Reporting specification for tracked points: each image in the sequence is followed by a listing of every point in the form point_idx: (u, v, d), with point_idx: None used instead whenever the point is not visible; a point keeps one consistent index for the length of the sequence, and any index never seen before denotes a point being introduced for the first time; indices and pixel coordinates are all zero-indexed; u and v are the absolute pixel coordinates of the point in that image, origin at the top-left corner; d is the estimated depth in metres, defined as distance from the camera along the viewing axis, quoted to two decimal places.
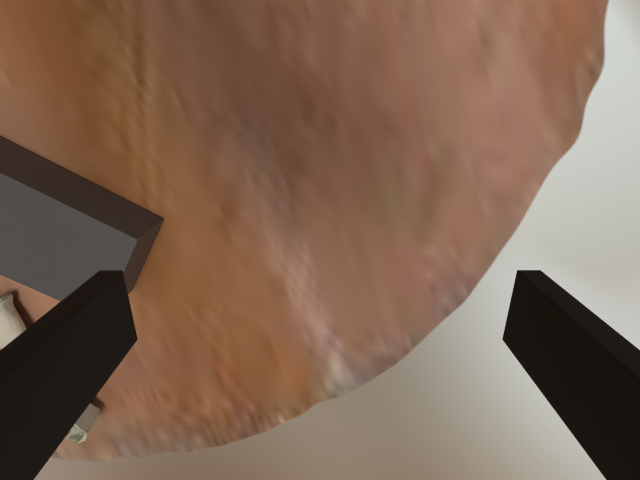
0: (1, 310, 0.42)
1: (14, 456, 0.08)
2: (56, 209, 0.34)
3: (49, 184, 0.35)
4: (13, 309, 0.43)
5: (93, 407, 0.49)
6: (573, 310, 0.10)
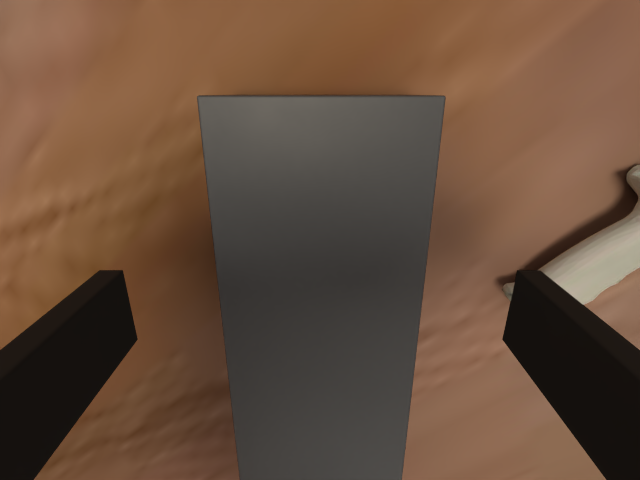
0: None
1: (14, 456, 0.08)
2: (233, 261, 0.18)
3: None
4: None
5: None
6: (573, 310, 0.10)
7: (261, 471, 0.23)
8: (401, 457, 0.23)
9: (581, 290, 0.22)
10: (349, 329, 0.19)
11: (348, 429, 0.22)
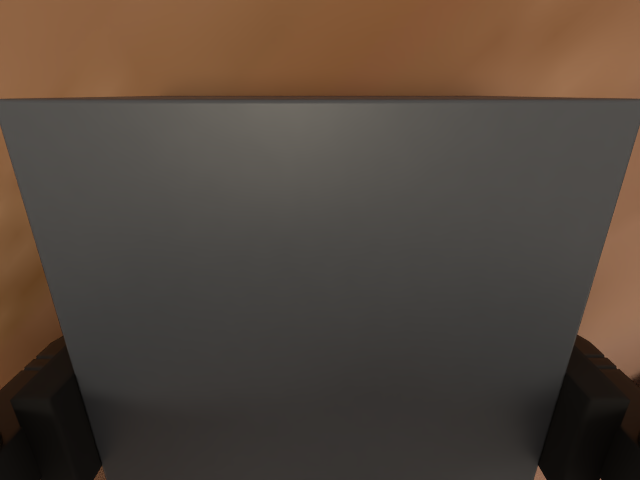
0: None
1: None
2: (134, 449, 0.08)
3: None
4: None
5: None
6: None
7: None
8: None
9: None
10: None
11: None
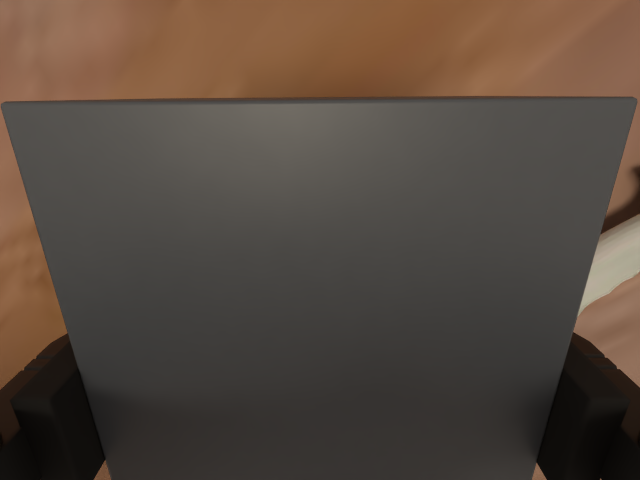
0: None
1: None
2: (137, 445, 0.09)
3: None
4: None
5: None
6: None
7: None
8: None
9: (597, 283, 0.23)
10: None
11: None
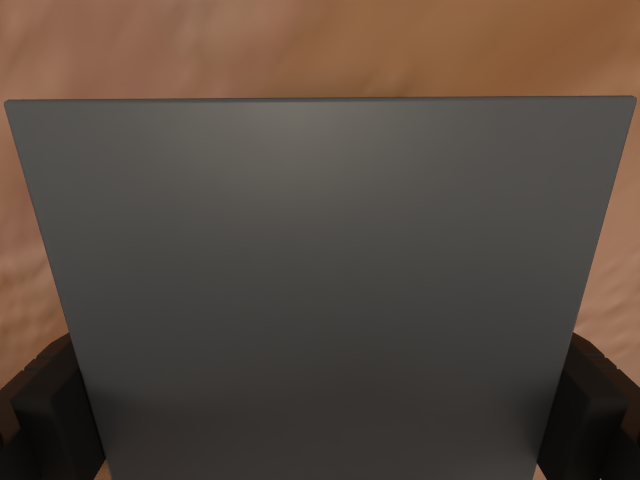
0: None
1: None
2: (138, 444, 0.09)
3: None
4: None
5: None
6: None
7: None
8: None
9: None
10: None
11: None
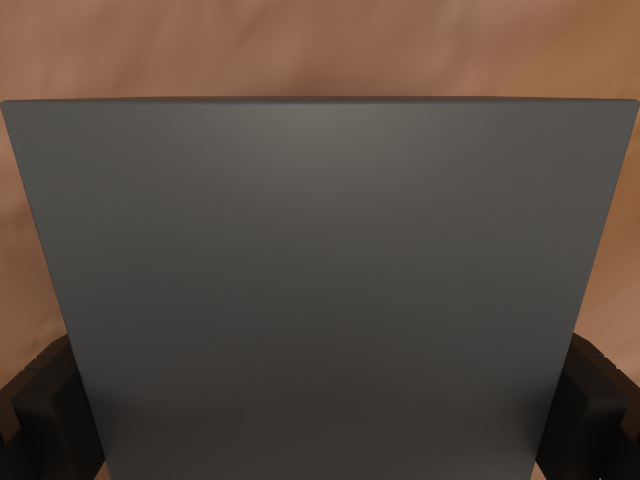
0: None
1: None
2: (137, 444, 0.09)
3: None
4: None
5: None
6: None
7: None
8: None
9: None
10: None
11: None
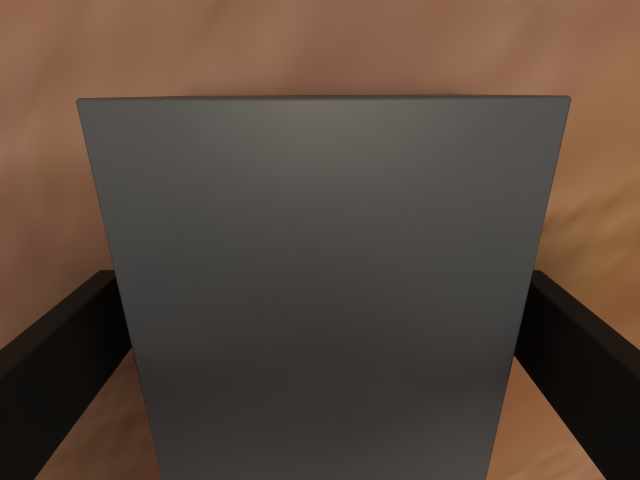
0: None
1: (14, 456, 0.08)
2: (171, 384, 0.10)
3: None
4: None
5: None
6: (573, 310, 0.10)
7: None
8: None
9: None
10: None
11: None
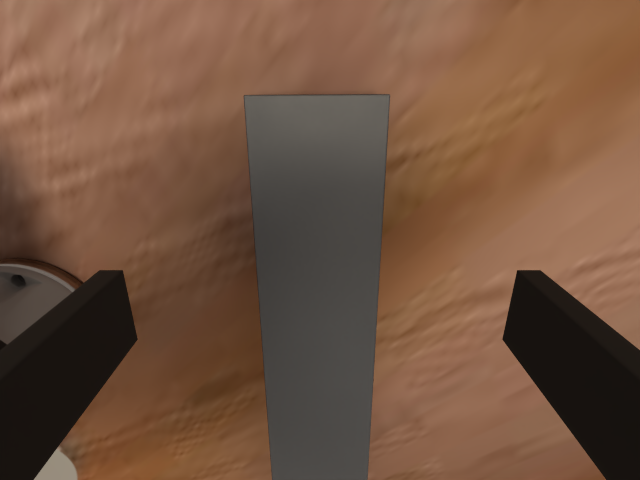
0: None
1: (14, 456, 0.08)
2: (262, 199, 0.29)
3: None
4: None
5: None
6: (573, 310, 0.10)
7: (278, 352, 0.34)
8: (373, 340, 0.33)
9: None
10: (336, 245, 0.30)
11: (337, 319, 0.33)
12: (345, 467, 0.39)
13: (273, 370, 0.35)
